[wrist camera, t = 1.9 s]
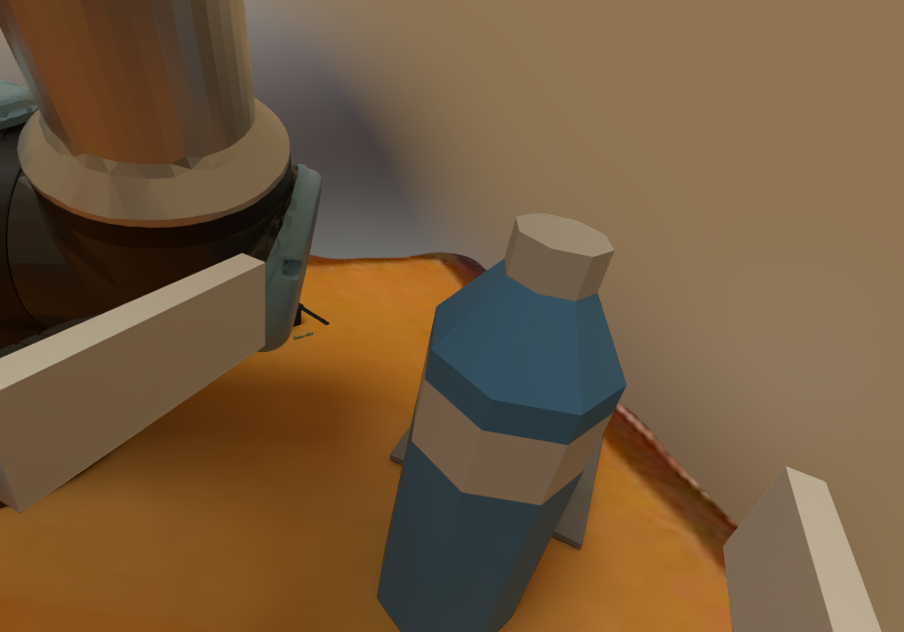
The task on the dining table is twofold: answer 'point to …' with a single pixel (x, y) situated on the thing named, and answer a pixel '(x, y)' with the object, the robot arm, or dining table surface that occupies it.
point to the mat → (576, 509)
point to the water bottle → (501, 429)
